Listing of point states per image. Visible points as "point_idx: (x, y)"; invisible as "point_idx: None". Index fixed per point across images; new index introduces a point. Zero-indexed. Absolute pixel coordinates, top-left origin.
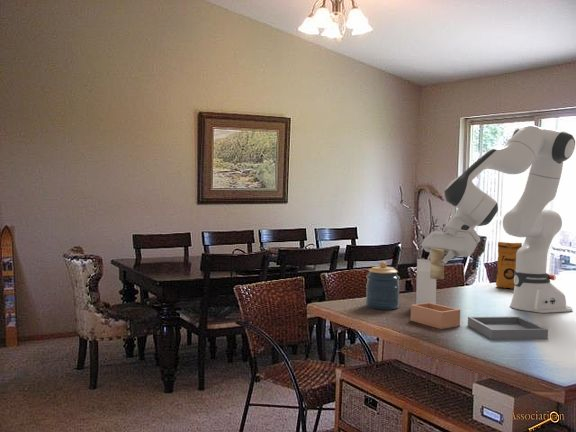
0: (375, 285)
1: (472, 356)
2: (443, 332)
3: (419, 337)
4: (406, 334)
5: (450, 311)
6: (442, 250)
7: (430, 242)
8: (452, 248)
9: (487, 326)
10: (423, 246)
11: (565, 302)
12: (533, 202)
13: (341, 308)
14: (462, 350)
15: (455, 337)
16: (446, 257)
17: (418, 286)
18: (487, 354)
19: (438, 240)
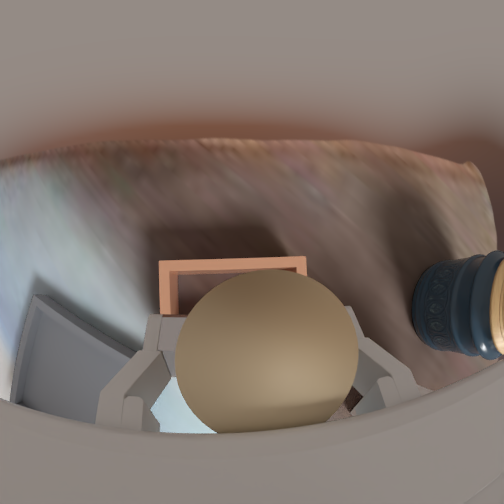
0: (473, 261)
1: (17, 162)
2: (139, 242)
3: (139, 154)
4: (175, 145)
5: (160, 305)
6: (176, 361)
7: (481, 420)
8: (75, 428)
9: (56, 317)
10: (492, 366)
11: None
12: None
13: (449, 200)
14: (38, 170)
15: (93, 232)
16: (142, 354)
17: (421, 391)
18: (7, 195)
19: (423, 498)
